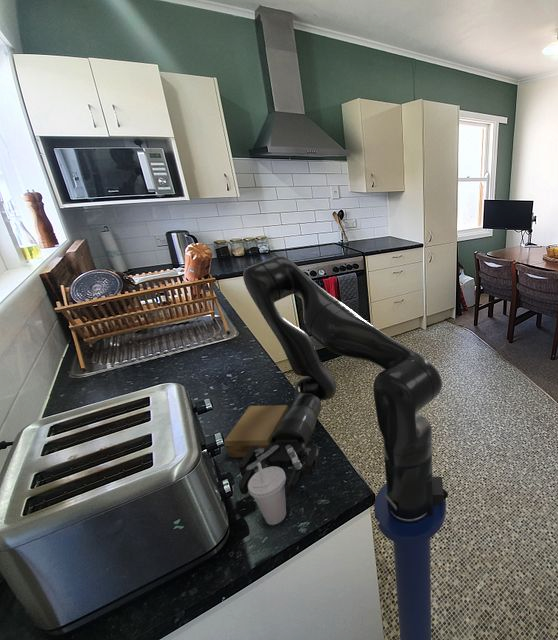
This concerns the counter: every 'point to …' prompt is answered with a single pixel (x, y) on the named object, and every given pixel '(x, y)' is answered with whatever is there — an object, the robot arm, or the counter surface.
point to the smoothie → (269, 493)
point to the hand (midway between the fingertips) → (265, 490)
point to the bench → (254, 429)
